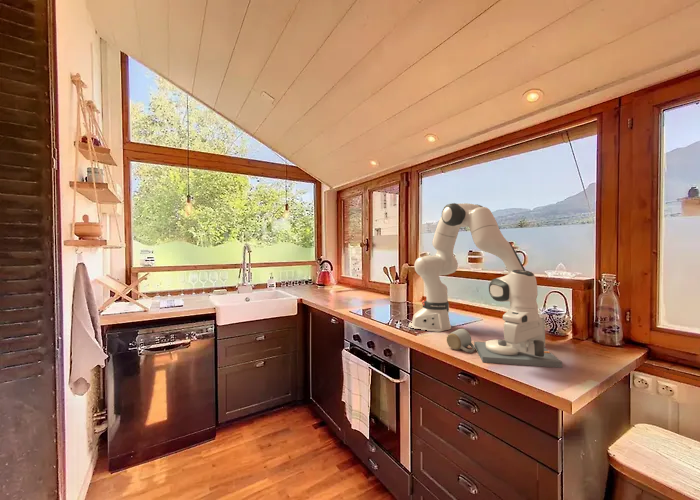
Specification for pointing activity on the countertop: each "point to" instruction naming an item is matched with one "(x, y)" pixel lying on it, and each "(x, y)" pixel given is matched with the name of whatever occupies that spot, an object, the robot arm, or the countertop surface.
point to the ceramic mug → (460, 340)
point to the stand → (517, 357)
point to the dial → (514, 347)
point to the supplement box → (542, 338)
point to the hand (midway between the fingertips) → (525, 351)
